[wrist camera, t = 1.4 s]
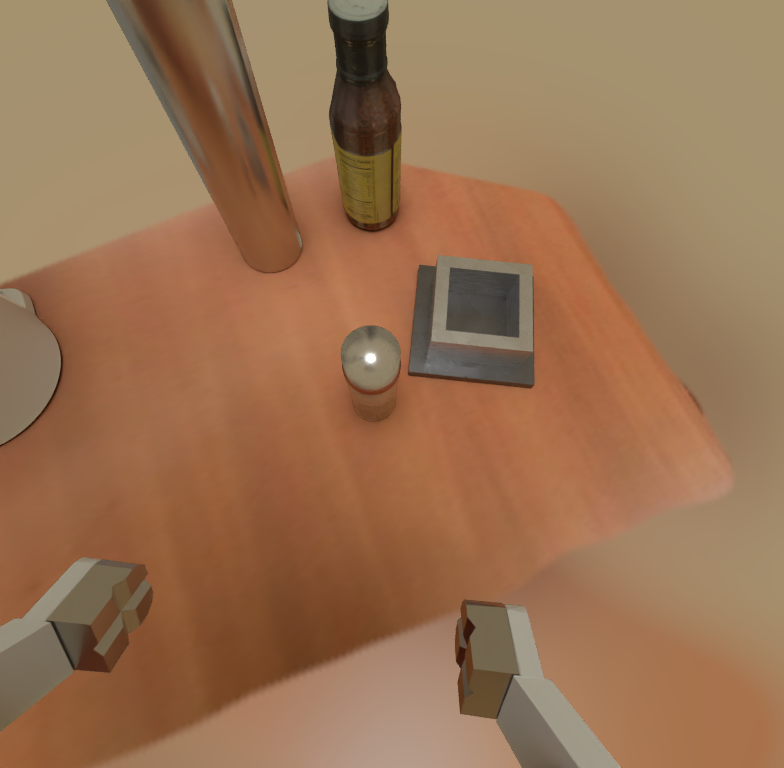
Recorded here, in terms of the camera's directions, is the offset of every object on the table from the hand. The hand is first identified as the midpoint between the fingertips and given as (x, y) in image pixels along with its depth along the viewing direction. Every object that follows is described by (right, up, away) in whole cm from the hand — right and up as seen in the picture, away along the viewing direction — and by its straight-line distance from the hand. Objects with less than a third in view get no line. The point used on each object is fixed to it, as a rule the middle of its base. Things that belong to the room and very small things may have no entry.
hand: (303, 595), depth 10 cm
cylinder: (+1, +4, +28) cm, 28 cm away
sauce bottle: (0, +25, +35) cm, 43 cm away
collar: (+10, +11, +31) cm, 34 cm away
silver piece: (-11, +20, +33) cm, 40 cm away
